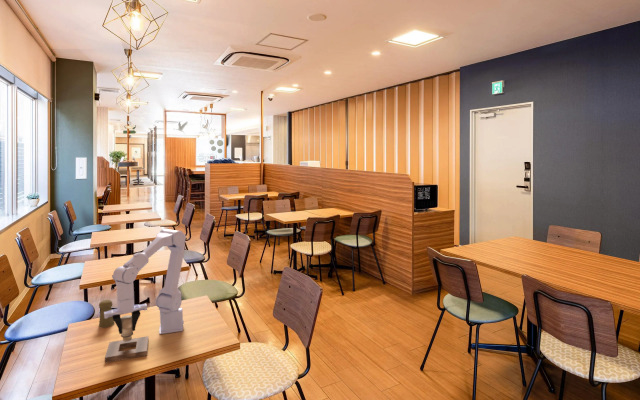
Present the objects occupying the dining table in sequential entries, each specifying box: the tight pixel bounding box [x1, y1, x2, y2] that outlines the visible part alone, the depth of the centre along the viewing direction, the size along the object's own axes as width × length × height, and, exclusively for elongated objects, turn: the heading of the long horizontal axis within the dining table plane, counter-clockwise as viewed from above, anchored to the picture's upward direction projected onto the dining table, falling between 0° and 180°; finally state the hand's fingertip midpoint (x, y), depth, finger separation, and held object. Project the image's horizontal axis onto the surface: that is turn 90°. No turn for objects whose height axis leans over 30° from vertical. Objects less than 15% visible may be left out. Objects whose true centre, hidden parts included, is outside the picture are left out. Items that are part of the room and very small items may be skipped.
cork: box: [98, 299, 115, 329], centre depth 165 cm, size 6×6×11 cm
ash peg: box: [120, 314, 134, 342], centre depth 143 cm, size 4×4×9 cm
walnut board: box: [104, 335, 149, 364], centre depth 144 cm, size 14×12×2 cm
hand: (127, 331), depth 143 cm, fingers closed on ash peg, 4 cm apart
